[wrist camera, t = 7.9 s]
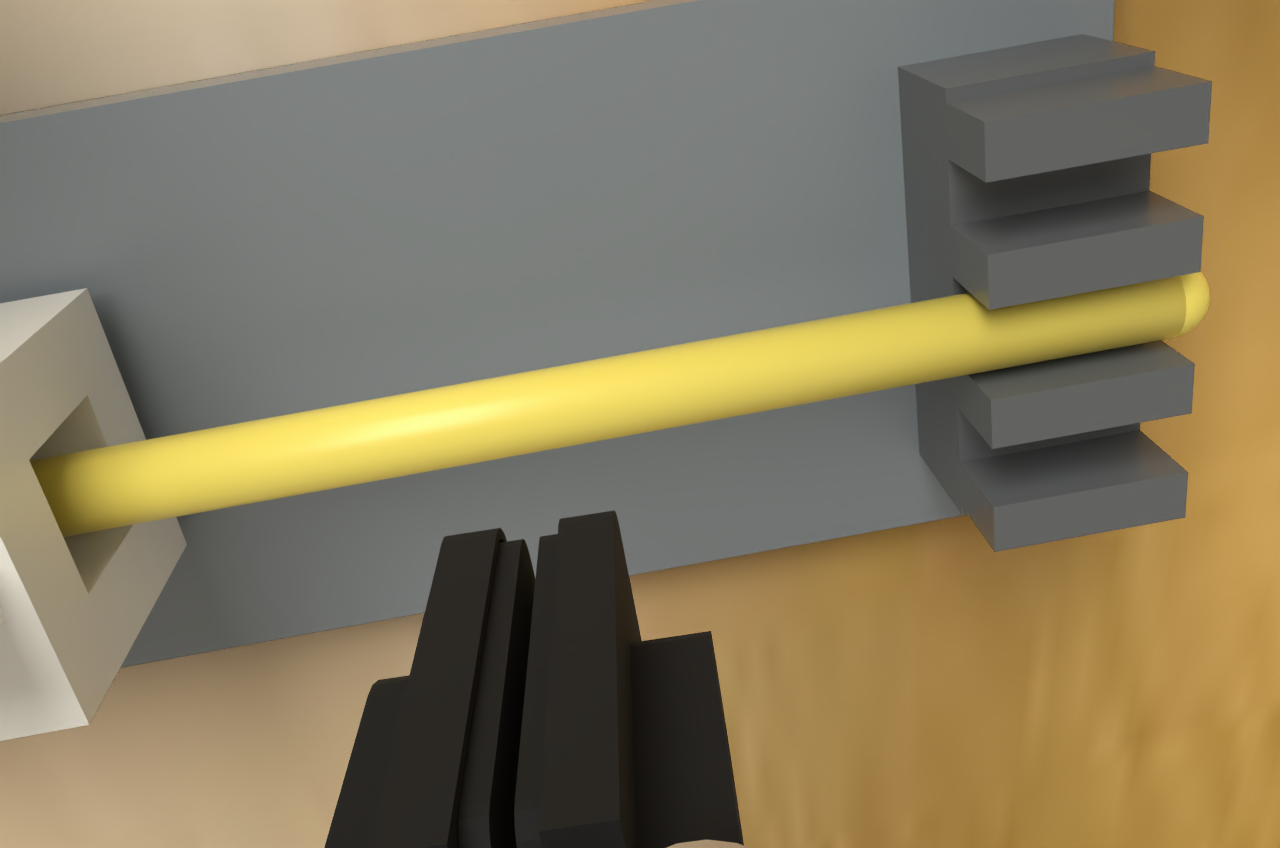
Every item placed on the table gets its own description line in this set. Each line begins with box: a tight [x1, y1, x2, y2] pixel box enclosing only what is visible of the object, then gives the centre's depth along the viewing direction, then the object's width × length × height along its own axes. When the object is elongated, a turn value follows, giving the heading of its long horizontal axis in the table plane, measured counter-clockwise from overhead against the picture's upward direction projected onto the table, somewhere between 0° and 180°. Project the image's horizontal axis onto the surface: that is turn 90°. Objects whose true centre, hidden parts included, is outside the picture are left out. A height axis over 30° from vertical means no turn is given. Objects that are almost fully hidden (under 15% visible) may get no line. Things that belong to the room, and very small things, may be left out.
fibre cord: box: [30, 272, 1210, 537], centre depth 17 cm, size 23×1×1 cm, turn 99°
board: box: [0, 0, 1212, 668], centre depth 18 cm, size 26×10×5 cm, turn 99°
